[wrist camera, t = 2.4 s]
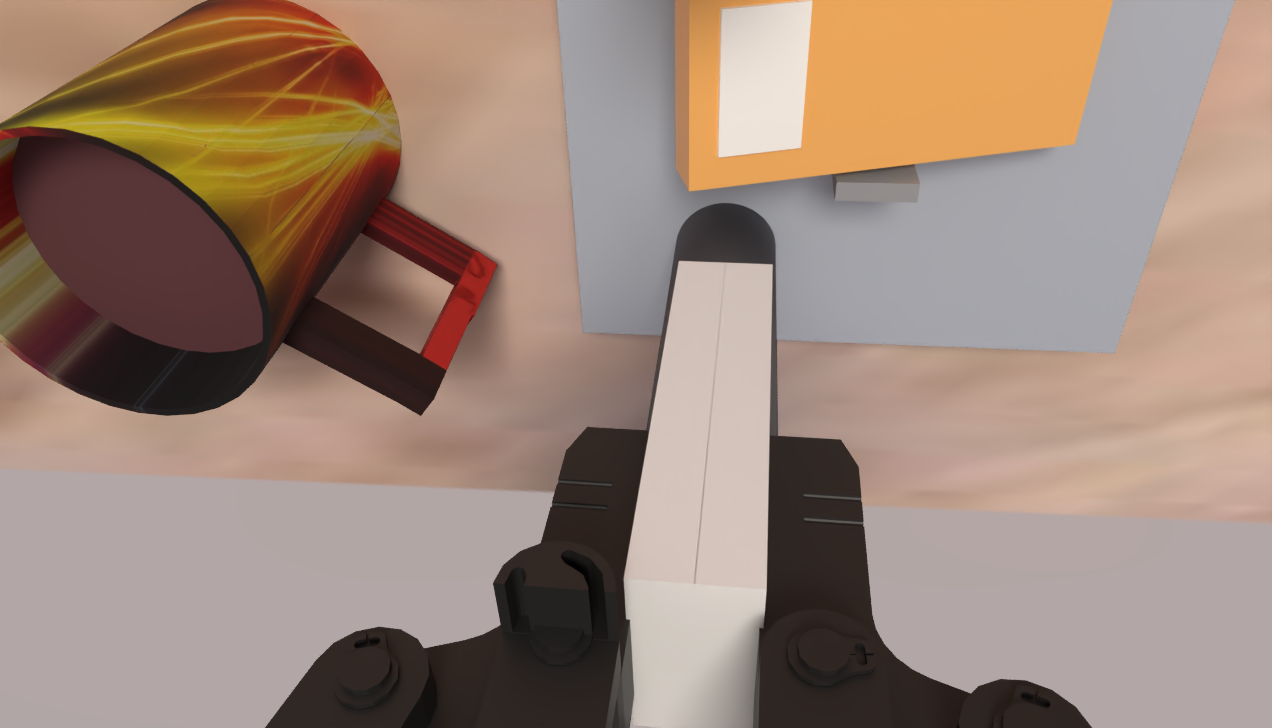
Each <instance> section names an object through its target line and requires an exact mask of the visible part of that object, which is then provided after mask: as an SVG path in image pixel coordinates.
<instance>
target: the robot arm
mask: <svg viewBox="0 0 1272 728" xmlns="http://www.w3.org/2000/svg"><path fill="white" fill-rule="evenodd" d="M772 272H773V264H748V263H721V262H694V261H679V263H678V269H677V275H676V281H675V286H674V292H673V298H672V304H671V309H670V315H669V321H668V327H667V332H666V338H665V344H664V350H663V355H662V361H661V367H660V373H659V378H658V384H657V390H656V396H655V401H654V407H653V413H652V419H651V424H650V430H649V431H645V430H628V429H611V428H594V427H587V428H586V429H585V430H584V431H583V432H582V434H581V435H580V436H579V437H578V438H577V439H576V440H575V441H574V443H573V444H572V445H571V446H570V447H569V448H568V449H567V450H566V453H565V457H564V461H563V464H562V468H561V471H560V475H559V482H558V484H557V486H556V490H555V493H554V497H553V501H552V507H551V508H550V512H549V515H548V519H547V522H546V526H545V530H544V533H543V537H542V541H541V543H540V544H538V545H535V546H533V547H530V548H528V549H525V550H522V551H520V552H519V553H518V554H516V555H515V556H514V557H513V558H511V559H510V560H509V561H508V562H507V563H505V564H504V565H503V567H502V568H501V570H500V572H499V574H498V575H497V577H496V579H495V581H494V583H493V585H494V590H495V596H496V601H497V607H498V612H499V617H500V623H501V625H500V626H498V627H497V628H495V629H493V630H491V631H489V632H487V633H485V634H483V635H480V636H477V637H474V638H471V639H467V640H463V641H459V642H454V643H449V644H444V645H439V646H434V647H429V648H423V647H422V645H421V643H420V642H419V640H418V639H416V638H415V637H413V636H411V635H409V634H408V633H406V632H404V631H402V630H401V629H393V628H384V627H376V628H371V629H366V630H361V631H356V632H354V633H352V634H350V635H348V636H346V637H344V638H343V639H341V640H339V641H337V642H335V643H333V644H332V645H331V646H330V647H329V648H328V649H327V650H326V651H325V652H324V653H323V654H322V655H321V656H320V657H319V658H318V659H317V660H316V661H315V662H314V664H313V665H312V666H311V668H310V669H309V670H308V672H307V673H306V674H305V676H304V677H303V678H302V680H301V681H300V682H299V684H298V685H297V686H296V688H295V689H294V690H293V692H292V693H291V694H290V695H289V697H288V698H287V699H286V701H285V702H284V704H283V705H282V706H281V707H280V709H279V710H278V711H277V713H276V714H275V715H274V717H273V718H272V719H271V721H270V722H269V723H268V725H267V726H266V727H265V728H630V721H631V714H632V725H637V726H647V727H657V728H1092V727H1091V726H1090V725H1089V723H1088V722H1087V721H1086V719H1085V718H1084V717H1083V716H1082V715H1081V713H1080V712H1079V711H1078V709H1077V708H1076V707H1075V706H1074V705H1072V704H1071V703H1069V702H1068V701H1067V700H1065V699H1064V698H1062V697H1061V696H1060V695H1058V694H1057V693H1055V692H1054V691H1053V690H1050V689H1048V688H1045V687H1042V686H1039V685H1037V684H1034V683H1031V682H1028V681H1025V680H1007V679H1006V680H1005V679H1000V680H996V681H993V682H990V683H987V684H984V685H981V686H978V687H977V688H976V689H975V690H974V691H973V692H972V693H971V694H970V693H968V692H965V691H962V690H960V689H957V688H954V687H952V686H949V685H946V684H944V683H941V682H939V681H936V680H933V679H931V678H929V677H927V676H924V675H922V674H920V673H918V672H916V671H914V670H912V669H911V668H909V667H908V666H907V665H906V664H904V663H903V662H902V661H900V660H899V659H897V658H896V657H895V656H894V655H893V653H892V652H891V651H890V650H889V649H888V648H887V647H886V646H885V644H884V643H883V641H882V639H881V638H880V636H879V634H878V632H877V630H876V628H875V624H874V620H873V616H872V607H871V597H870V586H869V576H868V564H867V553H866V542H865V531H864V527H863V510H862V502H861V488H860V477H859V467H858V465H857V464H856V462H855V461H854V459H853V458H852V456H851V454H850V453H849V451H848V450H847V448H846V447H845V445H844V444H843V442H842V441H841V440H837V439H820V438H803V437H786V436H769V433H770V379H771V326H772Z"/></svg>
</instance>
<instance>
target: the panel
mask: <svg viewBox="0 0 1272 728" xmlns="http://www.w3.org/2000/svg"><path fill="white" fill-rule="evenodd" d="M1234 2H1235V0H1113V2H1112V6H1111V9H1110V13H1109V17H1108V21H1107V24H1106V28H1105V32H1104V36H1103V40H1102V43H1101V47H1100V51H1099V55H1098V58H1097V62H1096V66H1095V70H1094V74H1093V77H1092V81H1091V85H1090V89H1089V92H1088V96H1087V100H1086V104H1085V107H1084V111H1083V115H1082V119H1081V123H1080V126H1079V130H1078V134H1077V138H1076V141H1075V144H1074V145H1066V146H1058V147H1050V148H1041V149H1033V150H1025V151H1017V152H1009V153H1000V154H992V155H984V156H976V157H968V158H960V159H951V160H943V161H935V162H927V163H919V164H910V165H902V166H894V167H886V168H878V169H869V170H861V171H853V172H845V173H837V174H828V175H820V176H812V177H804V178H796V179H788V180H779V181H771V182H763V183H755V184H747V185H738V186H730V187H722V188H714V189H706V190H697V191H688V189H687V187H686V185H685V184H684V182H683V180H682V178H681V176H680V175H679V173H678V171H677V169H676V118H675V0H557V13H558V25H559V38H560V50H561V63H562V75H563V88H564V100H565V113H566V125H567V138H568V150H569V163H570V175H571V188H572V200H573V213H574V225H575V238H576V250H577V263H578V275H579V288H580V300H581V313H582V325H583V332H584V333H610V334H635V335H662V328H663V322H664V316H665V309H666V303H667V297H668V291H669V284H670V278H671V272H672V265H673V259H674V253H675V246H676V240H677V236H678V233H679V230H680V228H681V227H682V225H683V223H684V222H685V221H686V220H687V219H688V218H689V217H690V216H691V215H692V214H693V213H695V212H696V211H698V210H699V209H701V208H704V207H706V206H709V205H712V204H718V203H734V204H739V205H742V206H745V207H748V208H750V209H752V210H754V211H755V212H757V213H758V214H759V215H761V216H762V217H763V218H764V219H765V220H766V221H767V223H768V224H769V226H770V227H771V229H772V231H773V234H774V237H775V243H776V317H777V340H789V341H815V342H841V343H866V344H892V345H918V346H943V347H969V348H995V349H1020V350H1046V351H1072V352H1097V353H1115V351H1116V348H1117V345H1118V342H1119V339H1120V336H1121V333H1122V330H1123V327H1124V324H1125V322H1126V319H1127V316H1128V313H1129V310H1130V307H1131V304H1132V301H1133V298H1134V295H1135V292H1136V289H1137V286H1138V283H1139V280H1140V277H1141V275H1142V272H1143V269H1144V266H1145V263H1146V260H1147V257H1148V254H1149V251H1150V248H1151V245H1152V242H1153V239H1154V236H1155V233H1156V231H1157V228H1158V225H1159V222H1160V219H1161V216H1162V213H1163V210H1164V207H1165V204H1166V201H1167V198H1168V195H1169V192H1170V189H1171V186H1172V184H1173V181H1174V178H1175V175H1176V172H1177V169H1178V166H1179V163H1180V160H1181V157H1182V154H1183V151H1184V148H1185V145H1186V142H1187V140H1188V137H1189V134H1190V131H1191V128H1192V125H1193V122H1194V119H1195V116H1196V113H1197V110H1198V107H1199V104H1200V101H1201V98H1202V95H1203V93H1204V90H1205V87H1206V84H1207V81H1208V78H1209V75H1210V72H1211V69H1212V66H1213V63H1214V60H1215V57H1216V54H1217V51H1218V49H1219V46H1220V43H1221V40H1222V37H1223V34H1224V31H1225V28H1226V25H1227V22H1228V19H1229V16H1230V13H1231V10H1232V7H1233V5H1234Z"/></svg>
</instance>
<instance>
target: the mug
mask: <svg viewBox="0 0 1272 728" xmlns="http://www.w3.org/2000/svg"><path fill="white" fill-rule="evenodd" d="M400 155H401V135H400V127H399V120H398V116H397V113H396V110H395V107H394V104H393V101H392V98H391V95H390V93H389V91H388V89H387V88H386V86H385V84H384V82H383V80H382V78H381V76H380V74H379V73H378V71H377V70H376V68H375V67H374V66H373V64H372V63H371V62H370V61H369V59H368V58H367V57H366V55H365V54H364V53H363V51H362V50H361V49H360V48H359V47H358V46H357V45H356V44H355V43H354V42H353V41H352V40H351V39H349V38H348V37H347V36H346V35H345V34H344V33H343V32H342V31H341V30H340V29H338V28H337V27H336V26H334V25H333V24H331V23H330V22H328V21H327V20H325V19H324V18H322V17H321V16H320V15H318V14H317V13H314V12H312V11H310V10H308V9H306V8H304V7H302V6H299V5H297V4H295V3H293V2H291V1H287V0H207V1H205V2H203V3H200V4H198V5H196V6H194V7H192V8H191V9H189V10H187V11H186V12H184V13H182V14H181V15H179V16H177V17H176V18H174V19H172V20H171V21H169V22H167V23H166V24H164V25H162V26H161V27H159V28H158V29H156V30H154V31H153V32H151V33H149V34H148V35H146V36H144V37H143V38H141V39H139V40H138V41H136V42H134V43H133V44H131V45H129V46H128V47H126V48H124V49H123V50H121V51H119V52H118V53H116V54H115V55H113V56H111V57H110V58H108V59H106V60H105V61H103V62H101V63H100V64H98V65H96V66H95V67H93V68H91V69H90V70H88V71H86V72H85V73H83V74H81V75H80V76H78V77H76V78H75V79H73V80H72V81H70V82H68V83H67V84H65V85H63V86H62V87H60V88H58V89H57V90H55V91H53V92H52V93H50V94H48V95H47V96H45V97H43V98H42V99H40V100H38V101H37V102H35V103H33V104H32V105H30V106H29V107H27V108H25V109H24V110H22V111H20V112H19V113H17V114H15V115H14V116H12V117H10V118H9V119H7V120H5V121H4V122H2V123H0V341H1V342H2V343H3V344H4V345H5V346H7V347H8V348H9V349H10V350H11V351H12V352H13V353H15V354H16V355H17V356H18V357H19V358H20V359H22V360H23V361H25V362H26V363H27V364H29V365H30V366H32V367H33V368H35V369H36V370H38V371H39V372H41V373H42V374H44V375H45V376H47V377H48V378H50V379H51V380H53V381H55V382H57V383H59V384H61V385H63V386H65V387H67V388H69V389H71V390H72V391H74V392H76V393H78V394H80V395H83V396H86V397H88V398H91V399H93V400H96V401H99V402H101V403H104V404H107V405H109V406H113V407H117V408H121V409H125V410H130V411H134V412H138V413H146V414H156V415H166V416H169V415H185V414H196V413H199V412H203V411H207V410H211V409H215V408H218V407H220V406H222V405H224V404H226V403H228V402H230V401H232V400H234V399H235V398H237V397H239V396H240V395H241V394H242V393H243V392H244V391H245V390H246V389H247V388H249V387H250V386H251V385H252V384H253V383H254V382H255V380H256V379H257V378H258V376H259V375H260V373H261V372H262V371H263V369H264V368H265V366H266V365H267V364H268V362H269V361H270V359H271V358H272V357H273V355H274V354H275V352H276V351H277V350H278V348H279V347H280V345H281V344H282V342H283V343H285V344H287V345H289V346H291V347H293V348H295V349H296V350H298V351H300V352H302V353H304V354H306V355H308V356H310V357H312V358H314V359H316V360H317V361H319V362H321V363H323V364H325V365H327V366H329V367H331V368H333V369H335V370H337V371H339V372H340V373H342V374H344V375H346V376H348V377H350V378H352V379H354V380H356V381H358V382H360V383H362V384H363V385H365V386H367V387H369V388H371V389H373V390H375V391H377V392H379V393H381V394H383V395H385V396H386V397H388V398H390V399H392V400H394V401H396V402H398V403H400V404H401V405H403V406H405V407H406V408H408V409H410V410H412V411H413V412H415V413H417V414H419V415H420V416H421V415H422V414H423V412H424V411H425V410H426V409H427V407H428V406H429V405H430V403H431V402H432V401H433V400H434V398H435V395H436V393H437V391H438V389H439V387H440V384H441V382H442V380H443V378H444V376H445V373H446V371H447V369H448V367H449V364H450V362H451V360H452V358H453V356H454V353H455V351H456V349H457V347H458V345H459V342H460V340H461V338H462V336H463V333H464V331H465V329H466V327H467V325H468V324H469V322H470V321H471V320H472V318H473V317H474V316H475V313H476V311H477V309H478V307H479V304H480V302H481V300H482V298H483V296H484V293H485V291H486V289H487V287H488V284H489V282H490V280H491V278H492V275H493V273H494V271H495V269H496V266H497V264H496V263H495V262H494V261H492V260H490V259H489V258H487V257H486V256H484V255H483V254H481V253H480V252H478V251H476V250H474V249H472V248H471V247H469V246H467V245H465V244H464V243H462V242H460V241H458V240H457V239H455V238H453V237H452V236H450V235H448V234H446V233H445V232H443V231H441V230H439V229H438V228H436V227H434V226H433V225H431V224H429V223H427V222H426V221H424V220H422V219H420V218H419V217H417V216H415V215H414V214H412V213H410V212H408V211H407V210H405V209H403V208H401V207H400V206H398V205H396V204H395V203H393V202H391V201H389V200H388V199H386V198H385V197H386V195H387V194H388V192H389V190H390V189H391V187H392V186H393V184H394V181H395V178H396V175H397V171H398V168H399V165H400ZM360 233H363V234H364V235H366V236H368V237H370V238H371V239H373V240H375V241H377V242H379V243H380V244H382V245H384V246H386V247H387V248H389V249H391V250H393V251H394V252H396V253H398V254H400V255H402V256H403V257H405V258H407V259H409V260H410V261H412V262H414V263H416V264H417V265H419V266H421V267H423V268H425V269H426V270H428V271H430V272H432V273H433V274H435V275H437V276H439V277H440V278H442V279H444V280H446V281H448V282H449V283H451V284H453V285H454V287H453V289H452V291H451V293H450V295H449V297H448V299H447V301H446V303H445V305H444V307H443V309H442V311H441V313H440V315H439V317H438V319H437V321H436V323H435V325H434V327H433V329H432V331H431V333H430V335H429V337H428V339H427V341H426V343H425V345H424V347H423V349H422V351H421V353H420V354H418V353H416V352H415V351H413V350H411V349H409V348H407V347H405V346H403V345H402V344H400V343H398V342H396V341H394V340H392V339H390V338H389V337H387V336H385V335H383V334H381V333H379V332H377V331H376V330H374V329H372V328H370V327H368V326H366V325H365V324H363V323H361V322H359V321H357V320H355V319H353V318H352V317H350V316H348V315H346V314H344V313H342V312H340V311H339V310H337V309H335V308H333V307H331V306H329V305H327V304H326V303H324V302H322V301H320V300H318V299H316V298H314V297H315V296H316V295H317V293H318V292H319V290H320V289H321V288H322V286H323V285H324V283H325V282H326V281H327V279H328V278H329V276H330V275H331V274H332V272H333V271H334V269H335V268H336V266H337V265H338V264H339V262H340V261H341V259H342V258H343V257H344V255H345V254H346V252H347V251H348V250H349V248H350V247H351V245H352V244H353V243H354V241H355V240H356V238H357V237H358V236H359V234H360Z"/></svg>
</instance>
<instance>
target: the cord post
mask: <svg viewBox="0 0 1272 728" xmlns="http://www.w3.org/2000/svg"><path fill="white" fill-rule="evenodd" d="M679 261H694V262H721V263H748V264H773V272H772V326H771V379H770V433H769V436H778V401H777V317H776V243H775V237H774V234H773V231H772V229H771V227H770V226H769V224H768V223H767V221H766V220H765V219H764V218H763V217H762V216H761V215H759V214H758V213H757V212H755V211H754V210H752V209H750V208H748V207H745V206H742V205H739V204H734V203H718V204H712V205H709V206H706V207H704V208H701V209H699V210H698V211H696V212H695V213H693V214H692V215H691V216H690V217H689V218H688V219H687V220H686V221H685V222H684V223H683V225H682V227H681V228H680V230H679V233H678V236H677V240H676V246H675V253H674V259H673V265H672V272H671V278H670V284H669V291H668V297H667V303H666V309H665V316H664V322H663V328H662V335H661V341H660V347H659V354H658V360H657V366H656V373H655V379H654V385H653V391H652V398H651V404H650V410H649V417H648V423H647V429H646V431H649V430H650V424H651V419H652V413H653V407H654V401H655V396H656V390H657V384H658V378H659V373H660V367H661V361H662V355H663V350H664V344H665V338H666V332H667V327H668V321H669V315H670V309H671V304H672V298H673V292H674V286H675V281H676V275H677V269H678V263H679Z"/></svg>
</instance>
